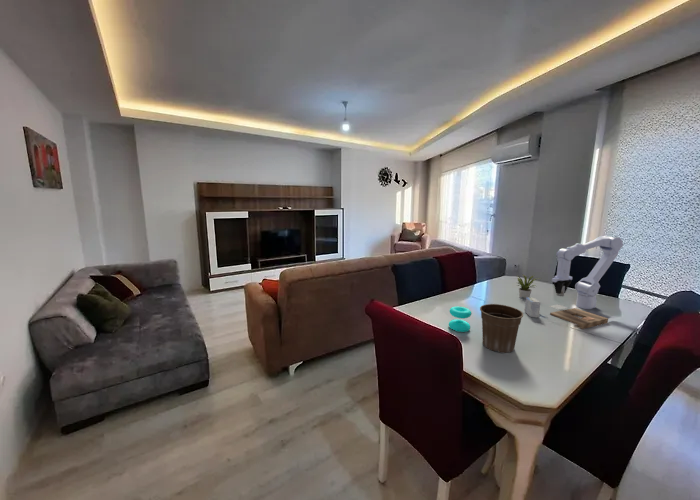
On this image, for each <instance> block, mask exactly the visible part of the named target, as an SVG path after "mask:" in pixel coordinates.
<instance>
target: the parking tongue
mask: <svg viewBox="0 0 700 500" xmlns="http://www.w3.org/2000/svg"><path fill="white" fill-rule="evenodd" d="M549 308H553V309H556V310H558V311H562V310H567V309H569V306H568V307H567V306H565V305H562V304H561V305H560V304H553V305H549Z"/></svg>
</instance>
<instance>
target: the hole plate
mask: <svg viewBox="0 0 700 500" xmlns="http://www.w3.org/2000/svg"><path fill="white" fill-rule="evenodd" d="M549 315H551V316H553V317H556V318H559V319H562V320H564V321H568V322H570V323H573V324H575V325H574V327H575V328H578V329H582V330H585V329H588V328H593V327H597V325H598V326H601V324H602V325H605V324H608V322H609V317H605V316H601V315H599V314H595V313H593V312H589V311H585V310H584V309H580V308H576V307H574V308H566V309H561V310H557V311H551V312H550V313H549Z"/></svg>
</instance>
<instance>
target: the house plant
mask: <svg viewBox="0 0 700 500" xmlns="http://www.w3.org/2000/svg"><path fill="white" fill-rule="evenodd" d="M522 276H523V278H524V281H523V280H522V278H521V277H520V276H519V275H517V282H516V284H518V285H516V286H517V287H519V286H520V287H519V288H518V294H519V295H518V297H519V298H524V299H526V298H531V294H532V289H530V288H532V287H533V289H534V288H535V289H536V287H537V286H536V285H535V284H533V283H534V281H536V280H541V278H538V277H535V278H534V275H531V276H530V277H529V278H528V279H527V276H526V275H524V274H522ZM531 284H532V285H531ZM535 286H536V287H535Z"/></svg>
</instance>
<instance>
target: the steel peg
mask: <svg viewBox="0 0 700 500" xmlns="http://www.w3.org/2000/svg"><path fill="white" fill-rule="evenodd" d="M564 292H565V285H563V287H562V290H561V293H560V294H558V293H556V296H558V297H565V293H566V292H565V293H564Z"/></svg>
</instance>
